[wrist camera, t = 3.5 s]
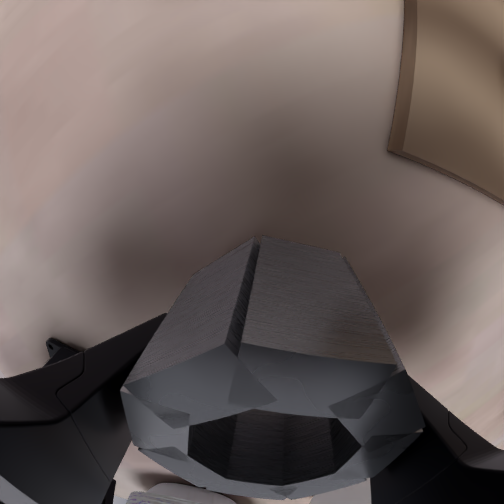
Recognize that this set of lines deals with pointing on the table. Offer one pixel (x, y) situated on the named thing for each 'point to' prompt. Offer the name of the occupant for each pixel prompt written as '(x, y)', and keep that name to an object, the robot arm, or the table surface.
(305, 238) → the table surface
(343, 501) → the lidded jar
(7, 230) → the table surface
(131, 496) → the paper bowls
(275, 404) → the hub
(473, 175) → the block
